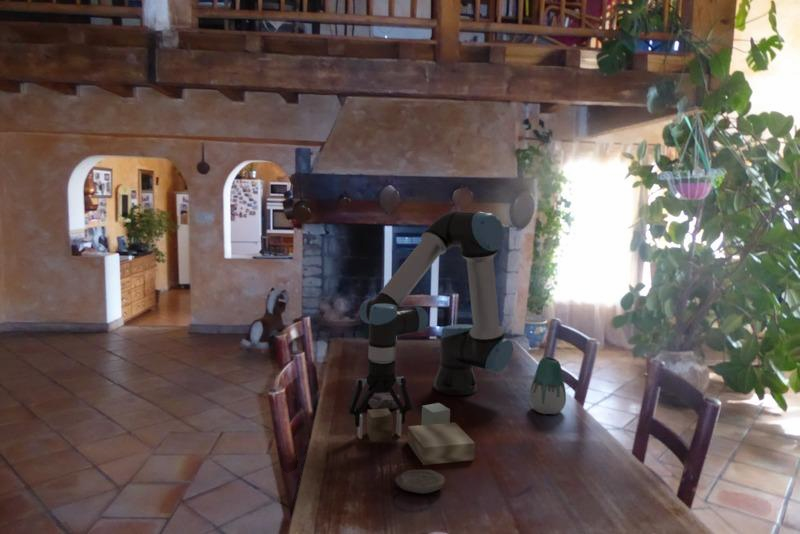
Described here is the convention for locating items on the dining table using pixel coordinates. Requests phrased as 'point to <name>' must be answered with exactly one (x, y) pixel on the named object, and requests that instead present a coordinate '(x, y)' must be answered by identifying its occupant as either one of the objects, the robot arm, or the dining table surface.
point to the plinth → (440, 443)
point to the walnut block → (379, 424)
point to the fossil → (420, 481)
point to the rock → (382, 401)
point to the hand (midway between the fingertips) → (379, 435)
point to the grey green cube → (435, 414)
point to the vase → (548, 387)
